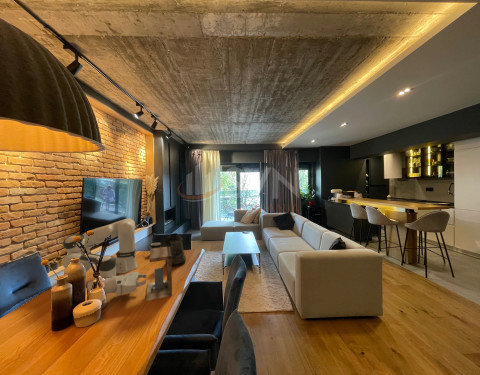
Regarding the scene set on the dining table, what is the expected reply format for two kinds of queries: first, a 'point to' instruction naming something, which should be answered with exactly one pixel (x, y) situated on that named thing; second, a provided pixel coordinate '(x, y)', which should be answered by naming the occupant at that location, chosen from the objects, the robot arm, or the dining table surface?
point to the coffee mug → (155, 245)
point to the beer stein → (175, 249)
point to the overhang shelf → (165, 254)
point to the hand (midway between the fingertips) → (146, 278)
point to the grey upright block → (159, 279)
